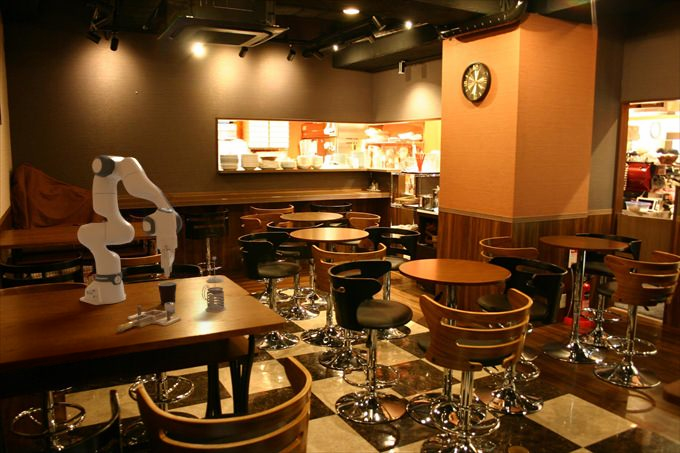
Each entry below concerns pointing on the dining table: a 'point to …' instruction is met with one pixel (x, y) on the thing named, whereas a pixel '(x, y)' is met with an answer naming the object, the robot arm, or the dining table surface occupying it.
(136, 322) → the pin
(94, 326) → the dining table surface
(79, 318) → the dining table surface
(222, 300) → the french press
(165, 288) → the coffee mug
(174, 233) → the robot arm
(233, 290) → the dining table surface
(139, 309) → the cradle
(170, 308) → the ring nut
